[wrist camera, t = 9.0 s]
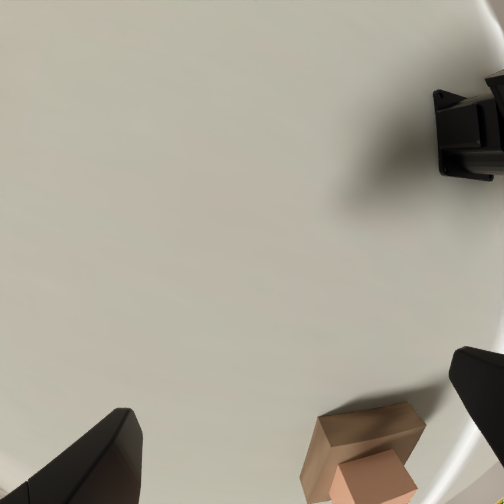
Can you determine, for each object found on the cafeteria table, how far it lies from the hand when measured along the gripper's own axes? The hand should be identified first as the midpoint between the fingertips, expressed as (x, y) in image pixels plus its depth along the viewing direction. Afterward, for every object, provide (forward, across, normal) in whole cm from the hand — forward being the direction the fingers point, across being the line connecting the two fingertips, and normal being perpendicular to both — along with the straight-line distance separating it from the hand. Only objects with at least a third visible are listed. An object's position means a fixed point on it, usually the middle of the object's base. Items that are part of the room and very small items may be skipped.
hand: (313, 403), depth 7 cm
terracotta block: (+8, -7, +18) cm, 21 cm away
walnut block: (+12, -8, +18) cm, 23 cm away
